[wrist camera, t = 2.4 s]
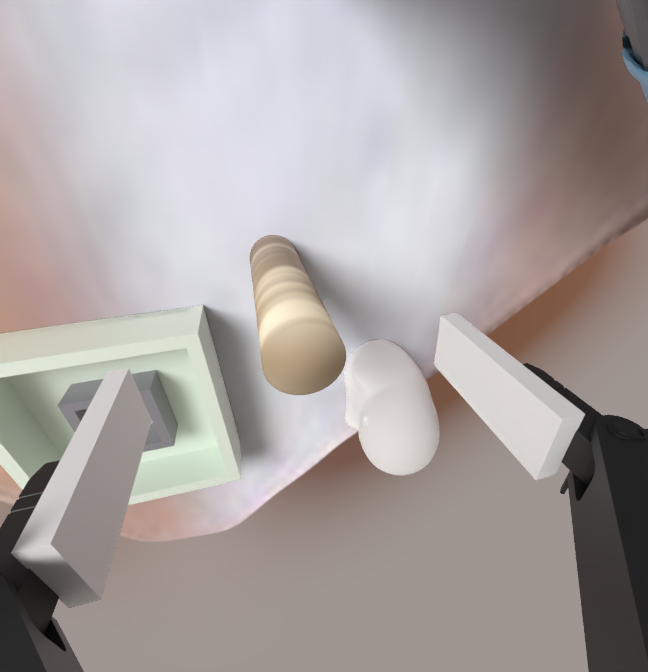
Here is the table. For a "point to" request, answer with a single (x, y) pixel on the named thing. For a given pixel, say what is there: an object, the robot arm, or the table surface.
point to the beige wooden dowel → (292, 321)
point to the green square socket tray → (153, 384)
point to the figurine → (390, 408)
